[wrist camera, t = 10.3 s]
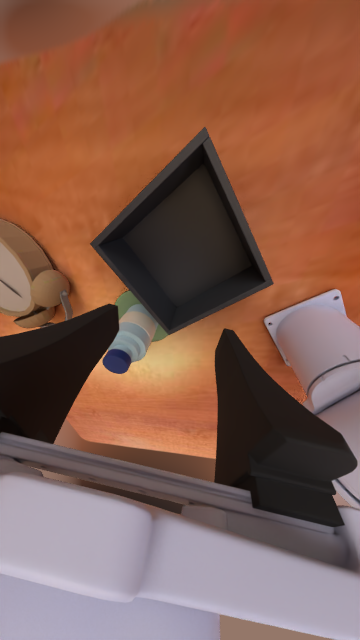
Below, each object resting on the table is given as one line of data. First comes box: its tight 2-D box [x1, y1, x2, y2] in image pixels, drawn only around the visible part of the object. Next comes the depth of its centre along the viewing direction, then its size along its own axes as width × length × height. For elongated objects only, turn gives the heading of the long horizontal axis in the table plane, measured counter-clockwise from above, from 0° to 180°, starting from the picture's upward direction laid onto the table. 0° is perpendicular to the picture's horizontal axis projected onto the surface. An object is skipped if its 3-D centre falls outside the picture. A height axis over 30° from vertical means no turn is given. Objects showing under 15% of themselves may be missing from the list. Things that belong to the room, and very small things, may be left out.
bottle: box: [103, 304, 158, 374], centre depth 20 cm, size 5×5×9 cm
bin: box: [90, 127, 274, 335], centre depth 16 cm, size 11×11×5 cm
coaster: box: [115, 290, 168, 342], centre depth 24 cm, size 9×9×1 cm
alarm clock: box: [0, 219, 73, 328], centre depth 21 cm, size 11×5×15 cm
